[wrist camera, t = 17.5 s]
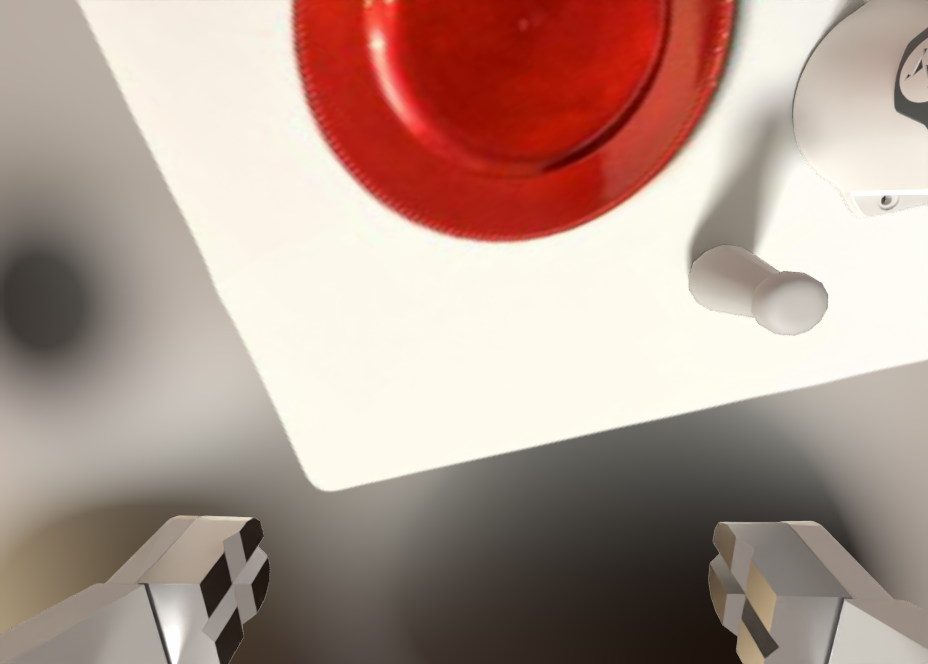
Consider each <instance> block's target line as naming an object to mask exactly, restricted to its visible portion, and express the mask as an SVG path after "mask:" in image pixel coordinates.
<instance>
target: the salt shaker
mask: <svg viewBox="0 0 928 664" xmlns="http://www.w3.org/2000/svg"><path fill="white" fill-rule="evenodd" d="M689 291H690V292H691V294H692V295H693V297H694V299H695V300H696V302H697V303H698V304H700V305H702V306H704V307H705V308H707V309H709V310H711V311H717V312H723V313H729V314H734V315H740V316H746V317H752V318H755V319H756V321H757V323H758V324H759V325H761V326H763V327H764V328H766V329H768V330H769V331H771V332H773V333H774V334H779V335H793V336H795V335H798V334H801V333H804V332H807V331H809V330H811V329H812V328H813V327H814V326H815V325H816V324H818V323H819V322H820V321H821V319H822V317H823V316H824V314H825V312H826V310H827V308H828V294H827V292H826V290H825V288H824V286H823V284H822V283H821V282H819V281H817V280H816V279H814V278H812V277H811V276H809V275H807V274H805V273H800V272H788V271H783V272H779V271H778V270H776V269H775V268H773V267H772V266H770V265H769V264H767V263H766V262H764V261H763V260H762V259H760V258H759V257H757V256H756V255H754V254H753V253H751V252H749V251H748V250H746V249H744V248H742V247H741V246H734V245H720V246H717V247H715V248H712V249H710V250H707V251H706V252H704V253H703V254H702V255H701V256H700V257H699V258H698V259H697V260H696V261H694V263H693V266H692V269H691V271H690V273H689Z"/></svg>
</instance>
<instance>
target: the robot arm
mask: <svg viewBox="0 0 928 664" xmlns="http://www.w3.org/2000/svg"><path fill="white" fill-rule="evenodd" d="M793 125H794V132H795V137H796V141H797V144H798V147H799V149H800V152H801V154H802V156H803V157H804V159H805V161H806V162H807V163H808V165H809V166H810V167H811V168H812V169H813V170H814V171H815V172H816V173H817V174H818V175H819V176H820V177H822V178H823V179H825V180H826V181H827V182H829V183H830V184H832V185H833V186H834V187H835V188H837V190H838V191H839V192H840V194H841V196H842V198H843V200H844V202H845V204H846V206H847V208H848V209H849V211H850V212H851V213H852V214H853V215H854V216H856V217H859V218H868V217H876V216H881V215H885V214H890V213H894V212H899V211H903V210H908V209H912V208H917V207H922V206H926V205H928V0H869V1H868V2H867V3H866V4H864V5H863V6H862V7H860V8H859V9H857V10H856V11H854V12H853V13H852V14H850V15H849V16H847V17H846V18H845V19H843V20H842V21H841V22H840V23H839V24H838V25H836V26H835V27H834V28H833V29H832V30H831V31H830V32H829V33H828V34H827V36H826V37H825V38H824V39H823V40H822V41H821V43H820V44H819V45H818V47H817V48H816V50H815V51H814V52H813V54H812V56H811V57H810V59H809V61H808V63H807V65H806V66H805V69H804V71H803V73H802V75H801V78H800V81H799V84H798V87H797V91H796V95H795V100H794V108H793ZM883 196H885V202H884V203H883V204H882V203H881V199H882V197H883ZM263 537H264V534H263V530H262V526H261V522H260V521H259V520H257V519H256V518H252V517H222V516H203V517H202V516H176V517H173V518H171V519H169V520H168V521H167V522H166V523H165V524H164V525H163V526H162V527H161V528H160V529H159V530H158V531H157V532H156V533H155V534H154V535H153V536H152V537H151V538H150V539H149V540H148V541H147V542H146V543H145V544H144V545H143V546H142V547H141V548H140V549H139V550H138V551H137V552H136V553H135V554H134V555H133V556H132V557H131V558H130V559H129V560H128V561H127V562H126V563H125V564H124V565H123V566H122V567H121V568H120V569H119V570H118V571H117V572H116V573H115V574H114V575H113V576H112V577H111V578H110V579H109V580H108V581H107V582H106V583H105V584H94V585H92V586H90V587H89V588H87V589H85V590H83V591H81V592H79V593H77V594H75V595H73V596H71V597H70V598H67V599H66V600H64V601H62V602H60V603H58V604H56V605H54V606H52V607H50V608H48V609H46V610H45V611H43V612H41V613H39V614H37V615H35V616H33V617H31V618H29V619H27V620H25V621H24V622H22V623H20V624H18V625H16V626H14V627H12V628H10V629H8V630H6V631H4V632H3V633H1V634H0V664H229V662H230V660H231V659H232V657H233V655H234V653H235V651H236V650H237V648H238V646H239V644H240V643H241V641H242V639H243V637H244V634H243V629H242V624H243V623H245V622H246V621H247V620H248V619H250V618H251V617H253V616H254V615H255V614H256V613H257V612H258V611H259V609H260V607H261V605H262V603H263V601H264V599H265V596H266V593H267V589H268V586H269V582H270V564H269V559H268V556H267V555H266V554H265V553H264V552H263V551H262V550H261V549H260V548H259V547H258V545H259V543H260V542H261V540H262V539H263ZM713 543H714V544H715V546H716V548H717V549H718V551H719V553H720V554H719V555H718V556H717V557H716V558H715V559H714V560H713V561H712V562H711V563H710V569H709V585H710V592H711V598H712V601H713V604H714V607H715V610H716V612H717V614H718V616H719V618H720V620H721V622H722V624H723V626H725V627H726V628H727V629H729V630H730V631H731V632H733V633H734V634H735V635H736V636H738V642H737V649H736V651H737V653H738V655H739V657H740V659H741V661H742V663H743V664H928V612H927V611H925V610H923V609H921V608H919V607H917V606H915V605H913V604H911V603H910V602H908V601H906V600H894V599H893V598H892V597H891V596H890V595H889V594H888V593H887V592H886V591H885V590H884V589H883V588H882V587H881V586H880V585H879V584H878V583H877V582H876V581H875V580H874V579H873V578H872V577H871V576H870V575H869V574H868V573H867V572H866V570H865V569H864V568H863V567H862V566H861V565H860V564H859V563H858V562H857V561H856V560H855V559H854V558H853V557H852V556H851V555H850V554H849V553H848V552H847V551H846V550H845V549H844V548H843V547H842V546H841V545H840V544H839V543H838V542H837V541H836V540H835V539H834V538H833V537H832V536H831V534H830V533H829V532H828V531H827V530H826V529H824V527H823V526H821V525H820V524H818V523H815V522H814V521H783V522H782V521H781V522H780V523H778V522H719V523H718V525H717V526H716V528H715V532H714V538H713Z"/></svg>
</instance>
